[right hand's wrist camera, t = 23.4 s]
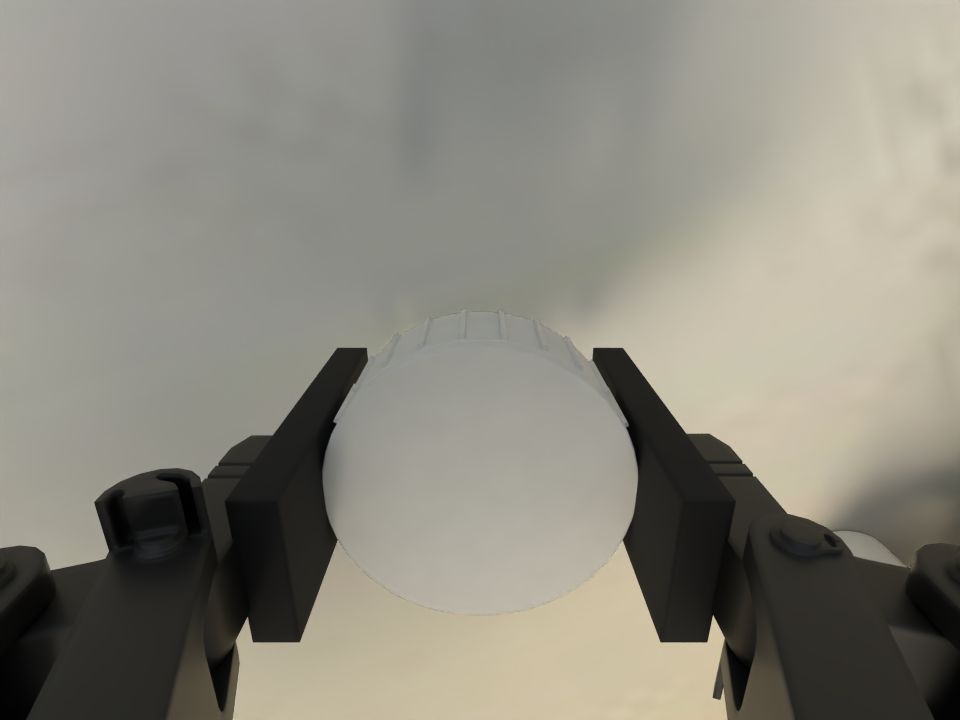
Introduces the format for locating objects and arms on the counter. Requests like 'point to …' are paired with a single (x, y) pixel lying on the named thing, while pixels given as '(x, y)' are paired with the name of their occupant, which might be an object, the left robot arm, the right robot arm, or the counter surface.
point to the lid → (480, 466)
